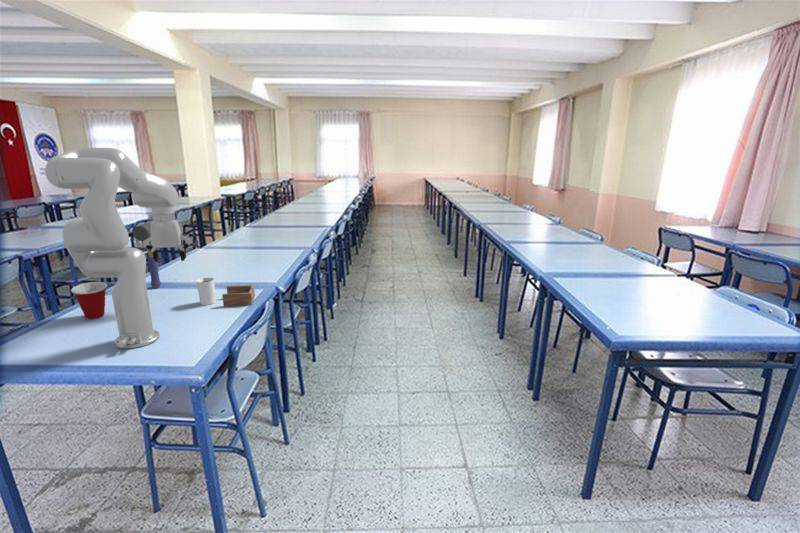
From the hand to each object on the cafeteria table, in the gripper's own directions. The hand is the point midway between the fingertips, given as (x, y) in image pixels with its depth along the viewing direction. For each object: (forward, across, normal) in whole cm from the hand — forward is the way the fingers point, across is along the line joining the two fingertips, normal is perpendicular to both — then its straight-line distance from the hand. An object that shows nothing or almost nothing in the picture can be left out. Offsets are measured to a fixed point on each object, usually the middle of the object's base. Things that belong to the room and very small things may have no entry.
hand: (170, 260), depth 163 cm
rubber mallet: (+19, -15, +25) cm, 35 cm away
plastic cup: (+19, -26, -8) cm, 33 cm away
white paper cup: (+19, +12, 0) cm, 22 cm away
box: (+19, +24, 0) cm, 31 cm away
